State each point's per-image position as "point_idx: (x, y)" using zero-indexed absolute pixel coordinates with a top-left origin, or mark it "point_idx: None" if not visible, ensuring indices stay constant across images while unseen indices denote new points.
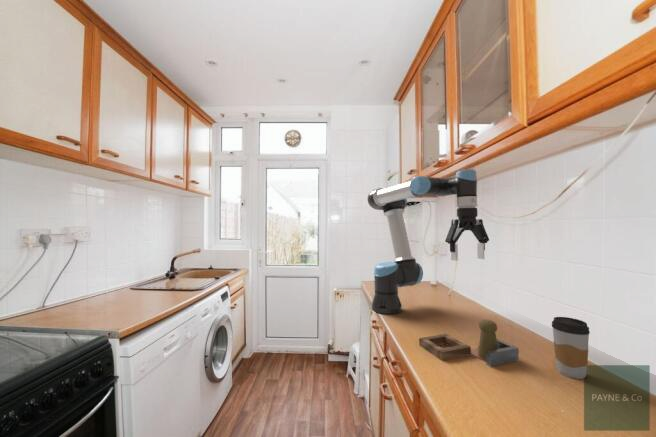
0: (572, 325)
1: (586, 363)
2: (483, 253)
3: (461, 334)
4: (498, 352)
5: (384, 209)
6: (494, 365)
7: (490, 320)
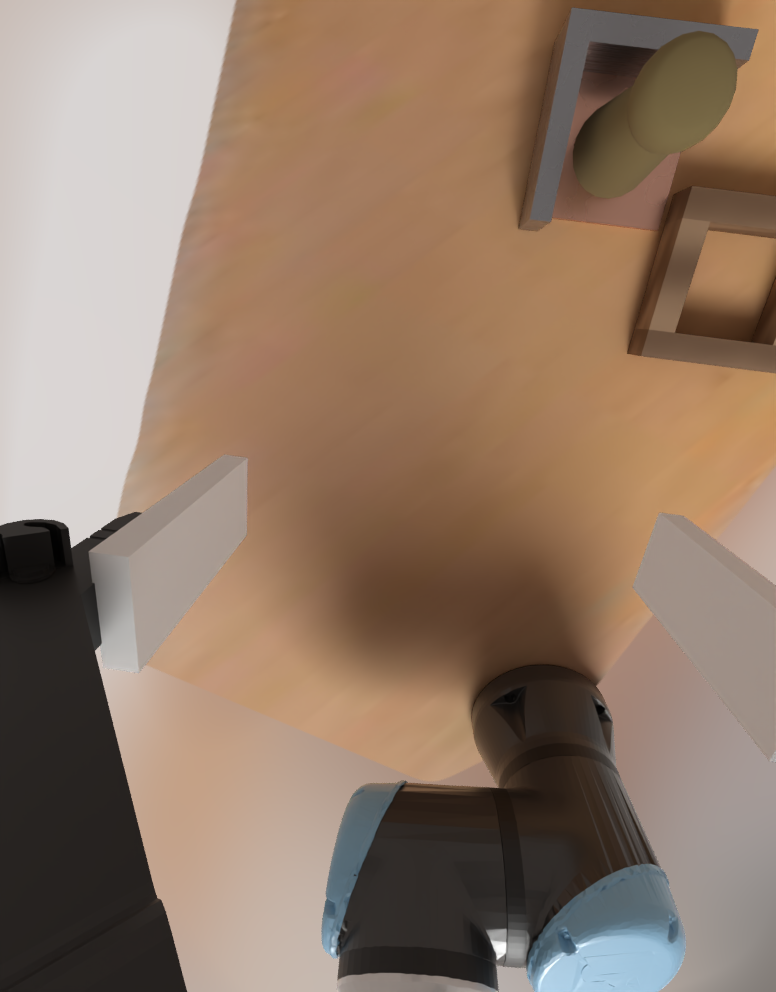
0: None
1: None
2: (207, 479)
3: (503, 372)
4: (705, 24)
5: None
6: None
7: (671, 82)
